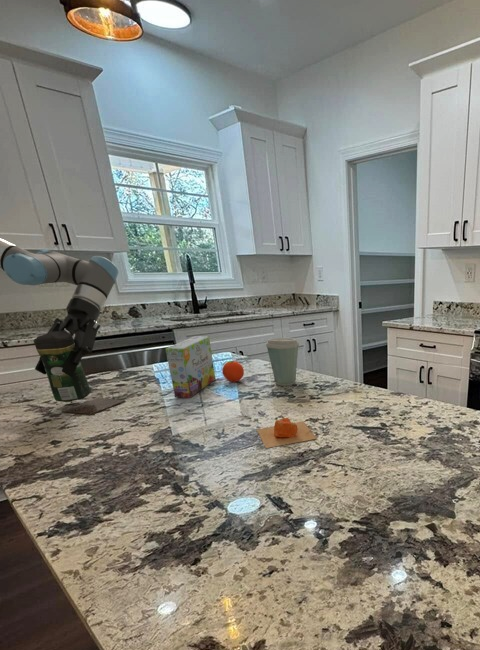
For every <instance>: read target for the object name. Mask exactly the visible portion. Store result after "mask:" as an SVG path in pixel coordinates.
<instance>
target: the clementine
mask: <svg viewBox="0 0 480 650" xmlns="http://www.w3.org/2000/svg"><path fill="white" fill-rule="evenodd" d="M221 370H222V376H223V377H224V378H225V379H226V380H227V381H229V382H232V383H235V382H238V381H241V380H242V378H243V377H244V374H245V369H244V366H243V365H242V364H241V363H239V362H238V361H236V360H228V361H225V362H223V363H222V369H221Z"/></svg>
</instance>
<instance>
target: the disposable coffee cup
mask: <svg viewBox="0 0 480 650" xmlns="http://www.w3.org/2000/svg"><path fill="white" fill-rule="evenodd" d="M299 343H300V342H299V341H298V340H297V338H291V337H275V338H274V337H273V338H268V339H267V341H266V342H265V347H266V349H267V354H268V358H269V361H270V365H271V370H272V374H273V378H274V382H275V384H276V385H278V386H283V387H285V386H292V385H294V384H295V383H296V380H297V379H296V378H297V367H298V355H299V354H298V353H299V346H300V344H299Z"/></svg>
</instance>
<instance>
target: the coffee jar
mask: <svg viewBox="0 0 480 650" xmlns="http://www.w3.org/2000/svg"><path fill="white" fill-rule="evenodd" d="M66 331H67V330H65V331H53V332H49V333H48V332H46V333H45V334H42V335H39V336H37V337H36V338H34V339H33V343H34V346H35V349H36V352H37V353H38V355H39V358H40V357H41V359H42V362H43V365H44V368H45V371H46V374H45V375H46V376H47V380H48V383H49V386H50V390H51V393H52V396H53V398H54V400H55V401H56V402H62V403H70V402H71V403H72V402H74V401H80V400H83V399H85V398H87V397H88V396H89V395H90V394H91V392H92V389H91V387H90V384H89V382H88V379H87V376H86V373H85V371H84V368H83V365H82V362H81V361H80V363H79V364H78V365H77V367H76V370H75V372H74V374H73V376H69V375H67V374H65V373H64V372H62V369H63V367H64V365H65V363H66V360H67V358H68V356H69V354H70V352H71V351H75V350H73V349H74V347H75V338H74V337H73V336H72V335H71V334H70V333H68V332H69V331H67V332H66ZM72 348H73V349H72ZM75 352H76V351H75Z"/></svg>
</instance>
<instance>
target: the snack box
mask: <svg viewBox="0 0 480 650" xmlns="http://www.w3.org/2000/svg"><path fill="white" fill-rule="evenodd" d="M211 347H212V346H211V341H210V336H209V335H208V336H206V335H200V336H198V335H195V336H191V337H189V338H187V339H185V340H182V341H180V342H178V343H176V344H172V345H171V346H168V347H166V348H165V354H166V359H167V364H168V369H169V374H170V379H171V383H172V384H171V385H172V389H173V395H174V398H185V399H186V398H189V399H190V398H193V397H194V396H195V395H197V394H198V393H199V392H200V391H202V390H203V389H204V388H206V387H207V386H209V385H210V384H212V383H213V382H214V381H215V380H216V379H217V378H216V373H215V367H214V361H213V353H212V348H211Z"/></svg>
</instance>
